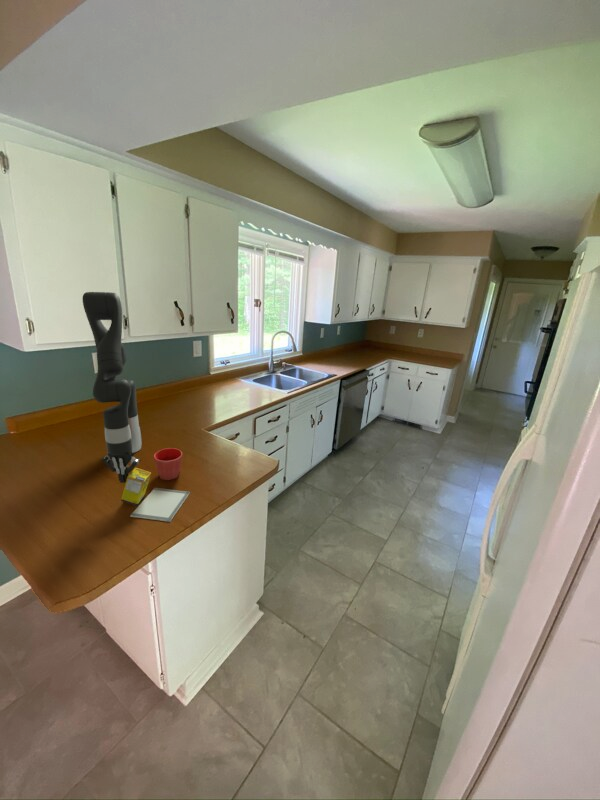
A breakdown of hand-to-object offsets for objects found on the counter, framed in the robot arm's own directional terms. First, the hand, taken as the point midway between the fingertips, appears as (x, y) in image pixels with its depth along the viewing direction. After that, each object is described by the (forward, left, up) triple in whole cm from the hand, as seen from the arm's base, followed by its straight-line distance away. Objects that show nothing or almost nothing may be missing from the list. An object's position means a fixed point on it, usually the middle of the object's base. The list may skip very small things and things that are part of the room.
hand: (124, 481), depth 112 cm
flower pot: (-18, +7, -8) cm, 21 cm away
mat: (0, +13, -8) cm, 15 cm away
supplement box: (0, +2, -7) cm, 8 cm away
